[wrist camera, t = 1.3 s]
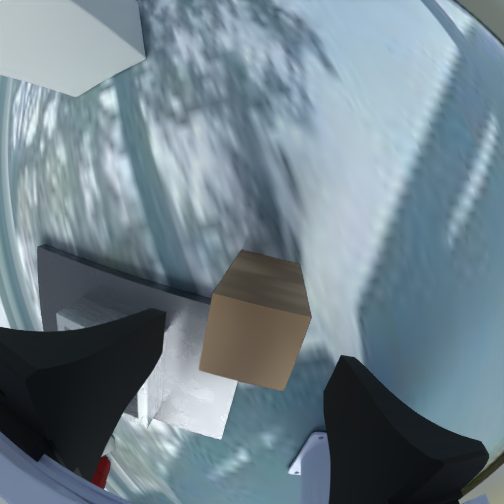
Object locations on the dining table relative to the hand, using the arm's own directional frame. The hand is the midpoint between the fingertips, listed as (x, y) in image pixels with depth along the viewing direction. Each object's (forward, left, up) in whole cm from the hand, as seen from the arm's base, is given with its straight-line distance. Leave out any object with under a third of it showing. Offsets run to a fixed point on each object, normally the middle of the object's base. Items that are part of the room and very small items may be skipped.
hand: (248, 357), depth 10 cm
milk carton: (+17, -16, -9) cm, 25 cm away
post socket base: (+10, +9, -9) cm, 16 cm away
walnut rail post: (0, 0, -9) cm, 9 cm away
